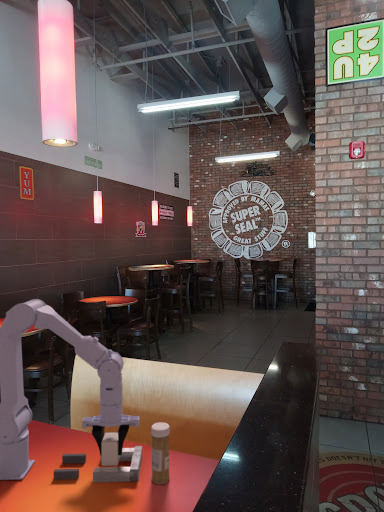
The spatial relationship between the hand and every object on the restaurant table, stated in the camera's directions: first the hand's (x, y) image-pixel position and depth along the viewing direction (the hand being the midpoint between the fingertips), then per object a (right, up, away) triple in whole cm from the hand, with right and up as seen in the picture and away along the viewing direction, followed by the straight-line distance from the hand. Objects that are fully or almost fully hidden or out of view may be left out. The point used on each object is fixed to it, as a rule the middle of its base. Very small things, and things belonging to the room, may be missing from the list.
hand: (111, 453), depth 96 cm
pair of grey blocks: (-11, -4, 0) cm, 11 cm away
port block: (+1, -4, 0) cm, 4 cm away
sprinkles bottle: (+13, -4, -4) cm, 15 cm away
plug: (0, -2, 0) cm, 2 cm away
